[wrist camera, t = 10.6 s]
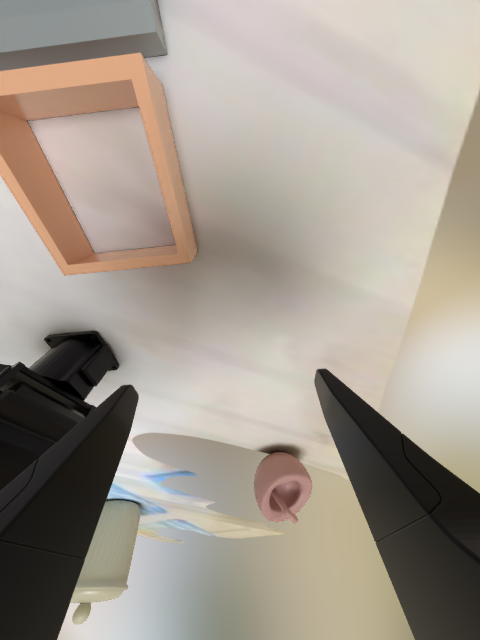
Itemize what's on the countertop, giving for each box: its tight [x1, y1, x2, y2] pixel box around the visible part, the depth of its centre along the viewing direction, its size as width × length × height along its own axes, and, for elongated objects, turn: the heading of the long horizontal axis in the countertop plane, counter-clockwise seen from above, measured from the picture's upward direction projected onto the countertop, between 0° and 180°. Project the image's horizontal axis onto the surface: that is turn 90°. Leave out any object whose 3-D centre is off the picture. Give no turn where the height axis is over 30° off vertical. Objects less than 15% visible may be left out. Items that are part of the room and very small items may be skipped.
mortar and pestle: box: [254, 452, 312, 523], centre depth 40 cm, size 12×12×12 cm
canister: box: [70, 500, 140, 624], centre depth 54 cm, size 18×18×21 cm
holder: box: [0, 53, 197, 275], centre depth 14 cm, size 11×11×4 cm
